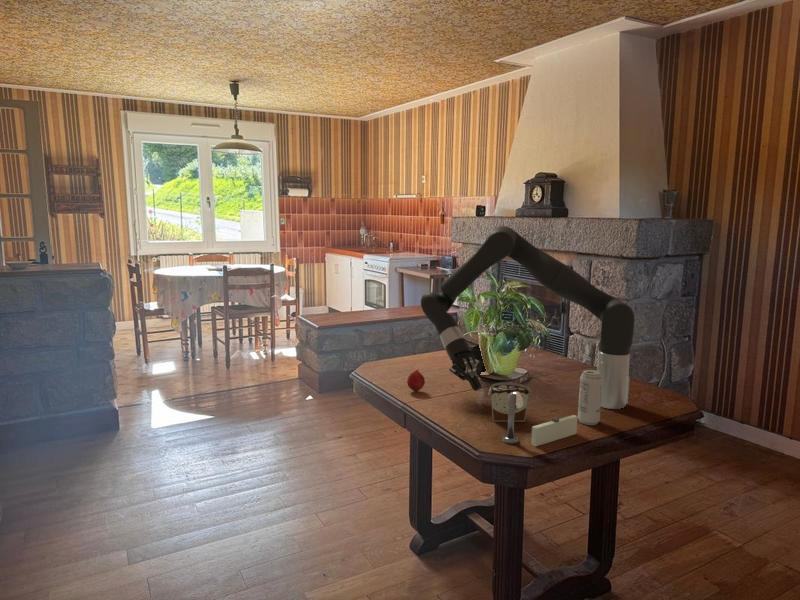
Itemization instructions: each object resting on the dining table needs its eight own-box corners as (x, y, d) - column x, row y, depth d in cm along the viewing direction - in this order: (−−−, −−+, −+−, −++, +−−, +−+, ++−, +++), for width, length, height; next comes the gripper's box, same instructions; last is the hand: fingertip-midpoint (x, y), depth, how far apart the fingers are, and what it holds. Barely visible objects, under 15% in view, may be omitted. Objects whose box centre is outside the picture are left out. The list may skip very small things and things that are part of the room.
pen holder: (495, 376, 202) (496, 350, 201) (470, 376, 202) (471, 349, 201) (491, 369, 212) (492, 344, 210) (467, 369, 212) (468, 343, 210)
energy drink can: (601, 426, 156) (605, 375, 153) (579, 425, 156) (583, 374, 154) (596, 418, 162) (600, 369, 159) (575, 417, 162) (578, 368, 160)
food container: (524, 413, 165) (526, 381, 163) (529, 421, 159) (531, 388, 157) (483, 413, 165) (485, 381, 163) (487, 421, 159) (489, 388, 157)
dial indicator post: (510, 436, 148) (512, 389, 146) (522, 442, 145) (524, 394, 142) (498, 439, 146) (500, 392, 144) (510, 445, 142) (512, 396, 140)
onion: (413, 396, 180) (413, 372, 179) (403, 391, 185) (404, 368, 183) (427, 393, 183) (428, 369, 182) (418, 388, 188) (418, 365, 187)
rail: (572, 432, 151) (573, 412, 151) (576, 433, 150) (577, 413, 149) (531, 444, 143) (532, 423, 142) (535, 446, 142) (536, 425, 141)
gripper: (444, 339, 174) (467, 387, 166) (476, 334, 181) (500, 380, 173) (433, 352, 179) (456, 398, 171) (465, 347, 186) (488, 391, 178)
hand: (478, 389), depth 172 cm, fingers closed
